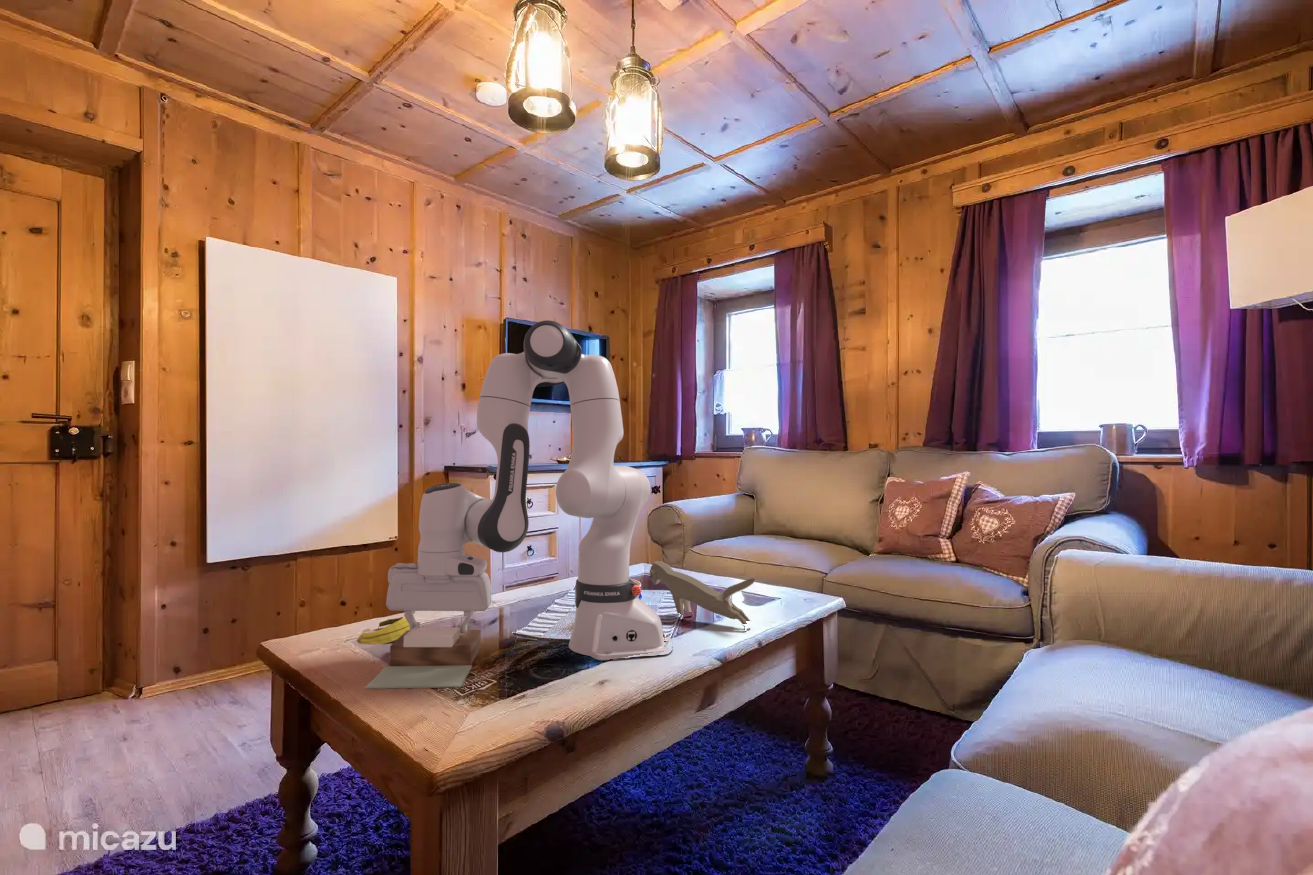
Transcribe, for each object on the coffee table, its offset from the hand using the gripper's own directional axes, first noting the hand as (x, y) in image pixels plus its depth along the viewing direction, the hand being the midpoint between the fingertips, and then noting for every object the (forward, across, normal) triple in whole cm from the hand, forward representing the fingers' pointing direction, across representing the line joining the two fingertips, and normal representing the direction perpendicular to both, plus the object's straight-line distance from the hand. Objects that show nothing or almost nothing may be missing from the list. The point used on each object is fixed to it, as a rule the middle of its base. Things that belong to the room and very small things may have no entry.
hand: (438, 632), depth 120 cm
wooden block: (+5, 0, -1) cm, 5 cm away
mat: (+5, +1, -11) cm, 12 cm away
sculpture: (+5, +57, +26) cm, 63 cm away
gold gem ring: (+5, -14, +13) cm, 20 cm away
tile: (+1, 0, -4) cm, 4 cm away
